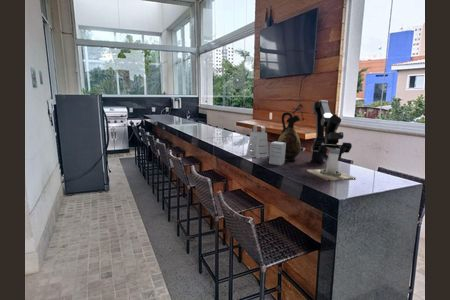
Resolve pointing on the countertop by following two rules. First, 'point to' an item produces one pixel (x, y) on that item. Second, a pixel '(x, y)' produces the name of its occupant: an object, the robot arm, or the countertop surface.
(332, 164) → the cylinder
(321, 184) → the countertop surface
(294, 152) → the ceramic jug
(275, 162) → the supplement box
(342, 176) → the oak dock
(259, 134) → the grater
